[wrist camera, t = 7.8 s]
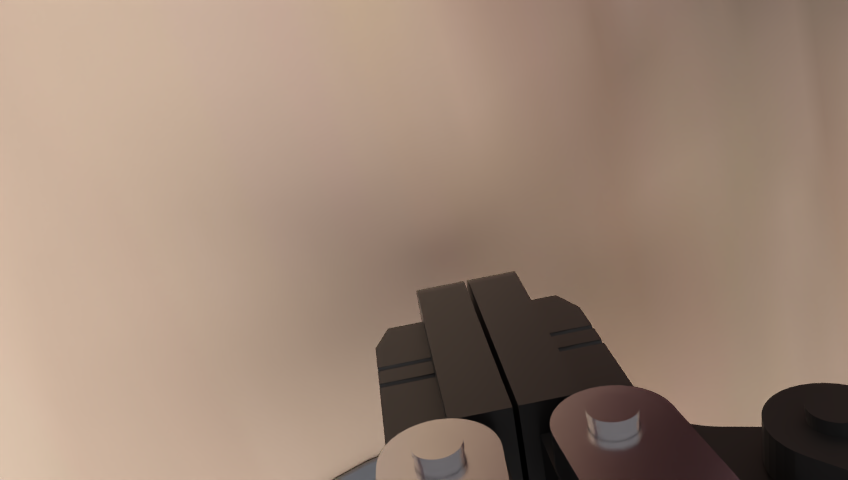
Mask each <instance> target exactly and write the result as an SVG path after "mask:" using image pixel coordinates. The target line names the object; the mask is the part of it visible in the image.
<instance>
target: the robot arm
mask: <svg viewBox="0 0 848 480" xmlns="http://www.w3.org/2000/svg"><path fill="white" fill-rule="evenodd" d="M417 297H418V303H419V308H420V314H421V319H422V322H420V323H415V324H410V325H405V326H400V327H395V328H390V329H388V330H387V331H386V333H385V334H384V336H383V338H382V339H381V341H380V342H379V344H378V346H377V347H376V356H377V366H378V375H379V385H380V395H381V405H382V415H383V425H384V435H385V446H384V448H383V449H382V451H381V452H380V454H379V457H378V459H377V464H376V479H375V480H848V385H842V384H832V383H812V384H804V385H798V386H794V387H790V388H788V389H785V390H782V391H780V392H778V393H777V394H775V395H773V396H772V397H771V398H770V399H769V400H768V401H767V402H766V403H765V405H764V407H763V410H762V427H713V426H701V425H694V424H690V423H689V422H688V421H687V420H686V419H685V418H684V417H683V416H682V415H681V413H680V412H679V411H678V410H677V409H676V408H675V407H674V406H673V405H672V404H671V403H670V402H669V401H668V400H667V399H665V398H664V397H662V396H660V395H659V394H656V393H654V392H652V391H649V390H646V389H643V388H638V387H634V386H633V385H632V383H631V382H630V381H629V379H628V378H627V376H626V375H625V373H624V372H623V370H622V369H621V367H620V366H619V364H618V363H617V361H616V360H615V359H614V357H613V356H612V354H611V353H610V351H609V350H608V348H607V347H606V345H605V344H604V343H602V341H601V338H600V337H599V335H598V334H597V332H596V331H595V329H594V328H593V329H592V325H591V323H590V322H589V320H588V319H587V318H586V316H585V315H584V313H583V312H582V310H581V309H580V307H578V306H576V305H574V304H572V303H570V302H568V301H566V300H564V299H562V298H560V297H558V296H556V295H555V296H550V297H545V298H540V299H535V300H531V299H530V297H529V296H528V294H527V292H526V290H525V288H524V287H523V285H522V283H521V281H520V279H519V278H518V276H517V274H516V273H515V272H514V271H513V272H508V273H503V274H498V275H493V276H488V277H483V278H477V279H472V280H467V288H466V286H465V283H464V282H458V283H453V284H448V285H443V286H438V287H433V288H427V289H422V290H417Z"/></svg>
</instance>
